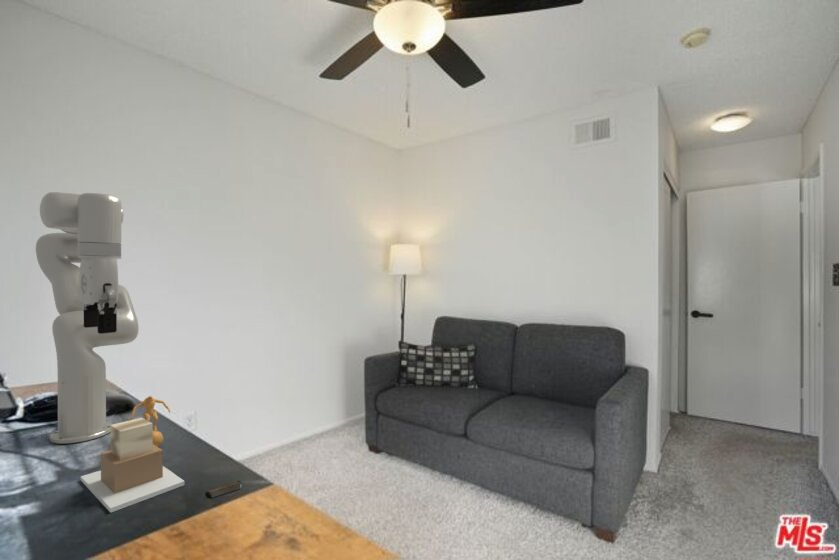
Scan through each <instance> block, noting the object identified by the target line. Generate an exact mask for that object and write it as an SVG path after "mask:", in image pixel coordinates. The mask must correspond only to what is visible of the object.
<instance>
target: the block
mask: <svg viewBox="0 0 839 560" xmlns="http://www.w3.org/2000/svg"><path fill="white" fill-rule="evenodd" d="M242 484H243V483H242V481H241V480H239V479H236V480H233V481H231V482H228V483H226V484H222V485H220V486H218V487H215V488H212V489H209V490H207V491H205V493H206V495H208V497H209V498H210V499H214V498H218V497H221V496H224V495H228V494H230V493H233V492H236V491H239V490H240V491H241V489H242Z"/></svg>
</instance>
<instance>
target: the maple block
mask: <svg viewBox="0 0 839 560" xmlns="http://www.w3.org/2000/svg"><path fill="white" fill-rule="evenodd" d="M112 424H113V425H111V432H110V450H111V453H112V454H113V455H115V456H116V457H117V458H118V459H120V460H123V459H126V458H129V457H133V456H136V455H139V454H143V453H146V452H149V451H153V431H154V422H151V421H150V420H149V421H147V420H145V417H144V418H143V417H138V418H134V419H133V420H130V419H129V420H126V421H121V422H117V423H112Z"/></svg>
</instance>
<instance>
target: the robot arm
mask: <svg viewBox="0 0 839 560" xmlns="http://www.w3.org/2000/svg"><path fill="white" fill-rule="evenodd" d="M39 215H40V220H41V221H42V224H43V226H45V227H46V228H49V229H55V230H60V231H62V232H51V233H45V234H43V235H42V236H40V237H39V238H38V239H37V241H36V243H35V254H36V255H35V256H36V260H37V263H38V266H39V268H40V270H41V271H42V273H43V274H44V276H45V277H46V278H47V279H48V281H49V283H50V284H51V288H52V294H53V299H54V300H53V301H54V305H55V307H56V310H57V313H58V314H59V315H57V316H56V317H55V319H54V320H53V322H52V329H51V330H52V336H53V341H54V347H55V351H56V353H55V354H56V361H57V362H56V363H57V430H54V431H53V432H52V433H50V434H49V441H50V442H51V443H53V444H63V445H65V444H74V443H83V442H86V441H90V440H91V441H92V440H95V439H98V438H101V437H103V436H105V435H107V434H109V433H111V425H113V424H114V423H112V422H110V421H107V399H106V398H107V392H106V391H107V385H106V384H107V379H106V378H107V377H106V376H107V375H106V374H107V373H106V370H107V368H106V363H105V360H104V358H103V357H101V356H100V355H99V354H98V353H96V352H95V351H94V350H93V349H95V348H99V347H106V346H116V345H117V346H118V345H123V344H129V343H132V342H133V341H135V340H136V338H137V337H138V335H139V330H140V329H139V321H138V318H137V317H138V316H137V315H136V311H135V308H134V306H133V305H134V304H133V302H132V299H131V296H130V294H129V292H128V290H127V288H126V287H124V285H121V284H119V273H118V272H119V270H118V269H119V267H118V259H119V260H121V259H122V224H123V222H124V207H122V201H121V200H120V198H119V197H117V196H115V195H111V194H105V193H97V192H96V193H95V192H85V193H82V194H78V193H68V192H59V191H51V192H48V193H46V194H44V196H42V199H41V201H40V205H39ZM76 263H77V264H80V266H78V265H76Z"/></svg>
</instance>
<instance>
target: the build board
mask: <svg viewBox="0 0 839 560" xmlns="http://www.w3.org/2000/svg"><path fill="white" fill-rule="evenodd" d="M163 456H164V454H163V449H162V448H160V447H159V446H158V447H157V446H155V445H154V444H153V451H149V452H146V453H143V454H139V455H136V456H133V457H129V458H126V459H123V460H120V459H118V458H117V457H116V456H115V455H113V454H112V453H111V449H110V450H106V451H102V452H100V470H98V471H94V472H91V473H88V474H85V475H81V476H80V481H81V482H82V484H83V485H84V486H85V487H86V488H87V489H88V490H89V491H90V492H91V494H93V496H94V497H95V499H98V501H99V502H100V503H101V504H102V506H104V507H105V509H107V511H108V512H109V513H110V514H111V513H114V512H116V511H119V510H122V509H124V508H128V507H129V506H133V505H136V504H137V503H138V504H139V503H140V502H143V501H146V500H148V499H151V498H154V497H156V496H159V495H162V494H164V493H168V492H170V491H172V490H175V489H177V488H180V487H183V486H185V480H184V479H182V478H181V477H180V476H178V475H177V474H175V473H174V472H173V471H171V470H170V469H168V467H165V466H164V465H163V462H164V461H163V459H164V458H163Z"/></svg>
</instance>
